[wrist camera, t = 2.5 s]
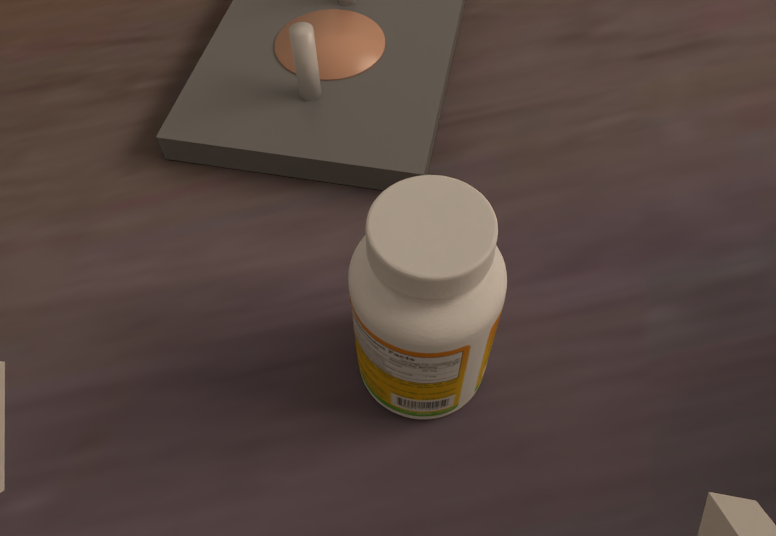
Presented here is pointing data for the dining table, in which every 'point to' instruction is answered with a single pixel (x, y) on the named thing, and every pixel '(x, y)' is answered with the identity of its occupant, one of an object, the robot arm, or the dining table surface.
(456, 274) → the supplement bottle
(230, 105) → the pin tray
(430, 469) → the dining table surface
